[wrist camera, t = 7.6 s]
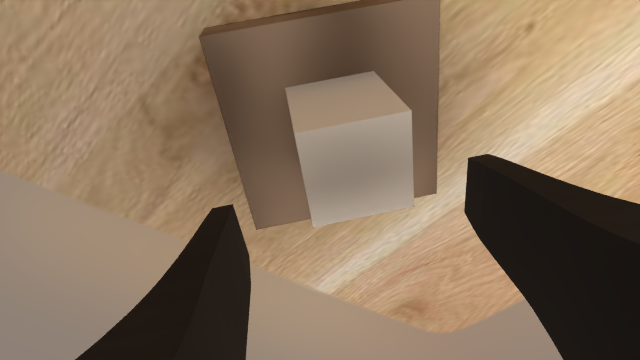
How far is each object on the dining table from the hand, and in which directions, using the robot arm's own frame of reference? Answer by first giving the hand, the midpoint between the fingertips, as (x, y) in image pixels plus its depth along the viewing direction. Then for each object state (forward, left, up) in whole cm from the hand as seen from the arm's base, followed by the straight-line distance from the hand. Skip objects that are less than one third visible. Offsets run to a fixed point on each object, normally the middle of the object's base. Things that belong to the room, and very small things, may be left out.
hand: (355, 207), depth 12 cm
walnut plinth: (+1, -1, -9) cm, 9 cm away
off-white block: (+1, 0, -7) cm, 7 cm away
